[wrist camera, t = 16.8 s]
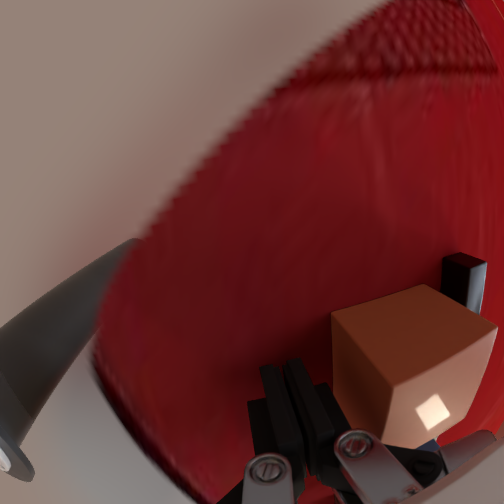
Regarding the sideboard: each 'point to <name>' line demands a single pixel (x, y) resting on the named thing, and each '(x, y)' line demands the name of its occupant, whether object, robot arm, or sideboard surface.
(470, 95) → the sideboard surface
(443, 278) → the rail
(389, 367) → the terracotta block
